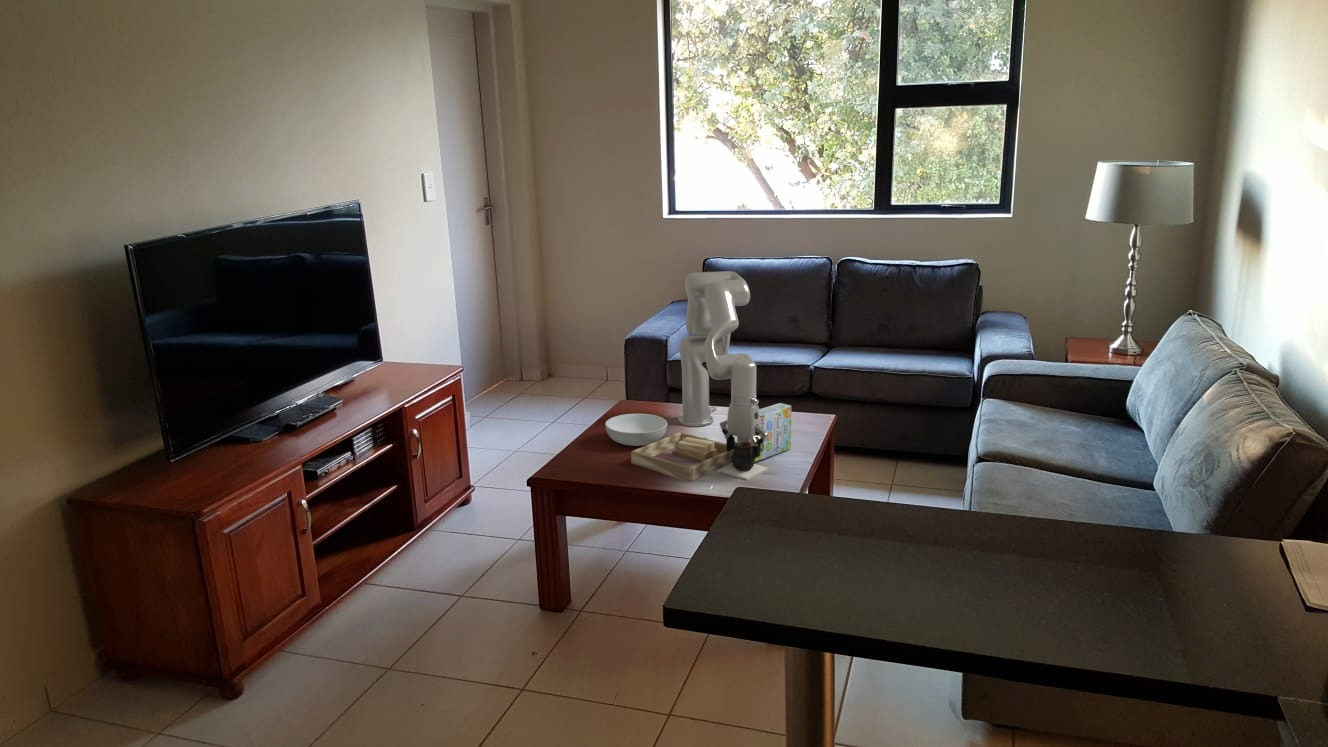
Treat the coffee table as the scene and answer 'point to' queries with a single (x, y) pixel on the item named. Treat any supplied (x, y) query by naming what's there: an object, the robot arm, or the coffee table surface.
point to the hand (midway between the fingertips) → (743, 453)
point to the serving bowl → (636, 429)
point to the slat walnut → (687, 457)
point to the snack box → (774, 430)
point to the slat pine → (696, 444)
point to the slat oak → (698, 453)
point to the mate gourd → (742, 456)
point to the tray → (647, 460)
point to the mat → (743, 474)
